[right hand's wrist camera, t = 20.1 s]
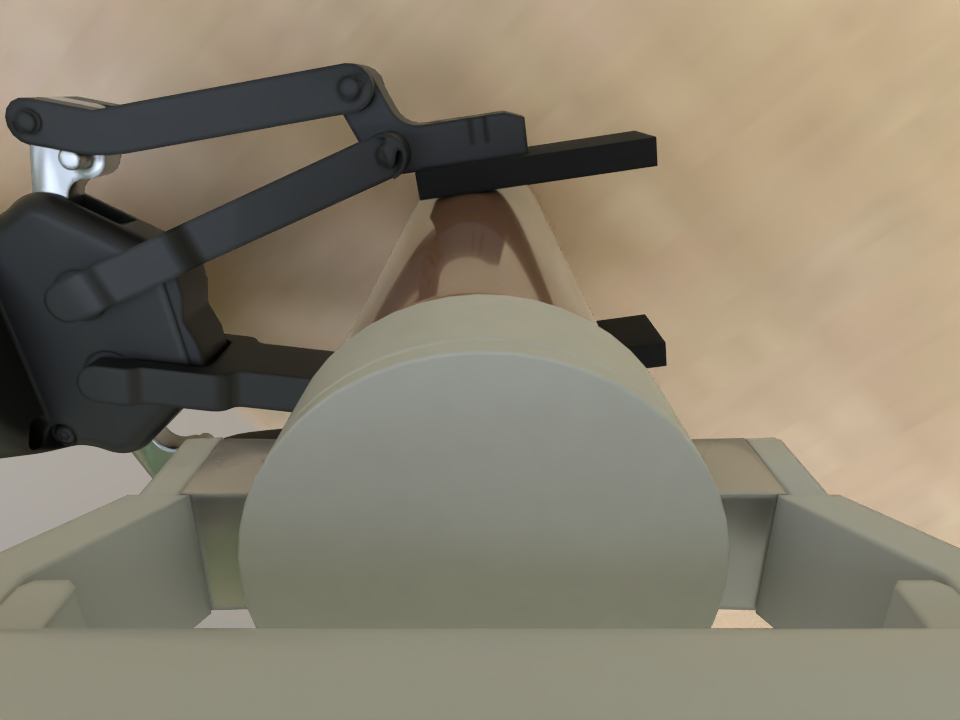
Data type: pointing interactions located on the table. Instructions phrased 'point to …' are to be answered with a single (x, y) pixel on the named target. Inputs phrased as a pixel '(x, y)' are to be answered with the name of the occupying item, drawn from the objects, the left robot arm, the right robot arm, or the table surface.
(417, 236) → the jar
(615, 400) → the lid
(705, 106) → the table surface
